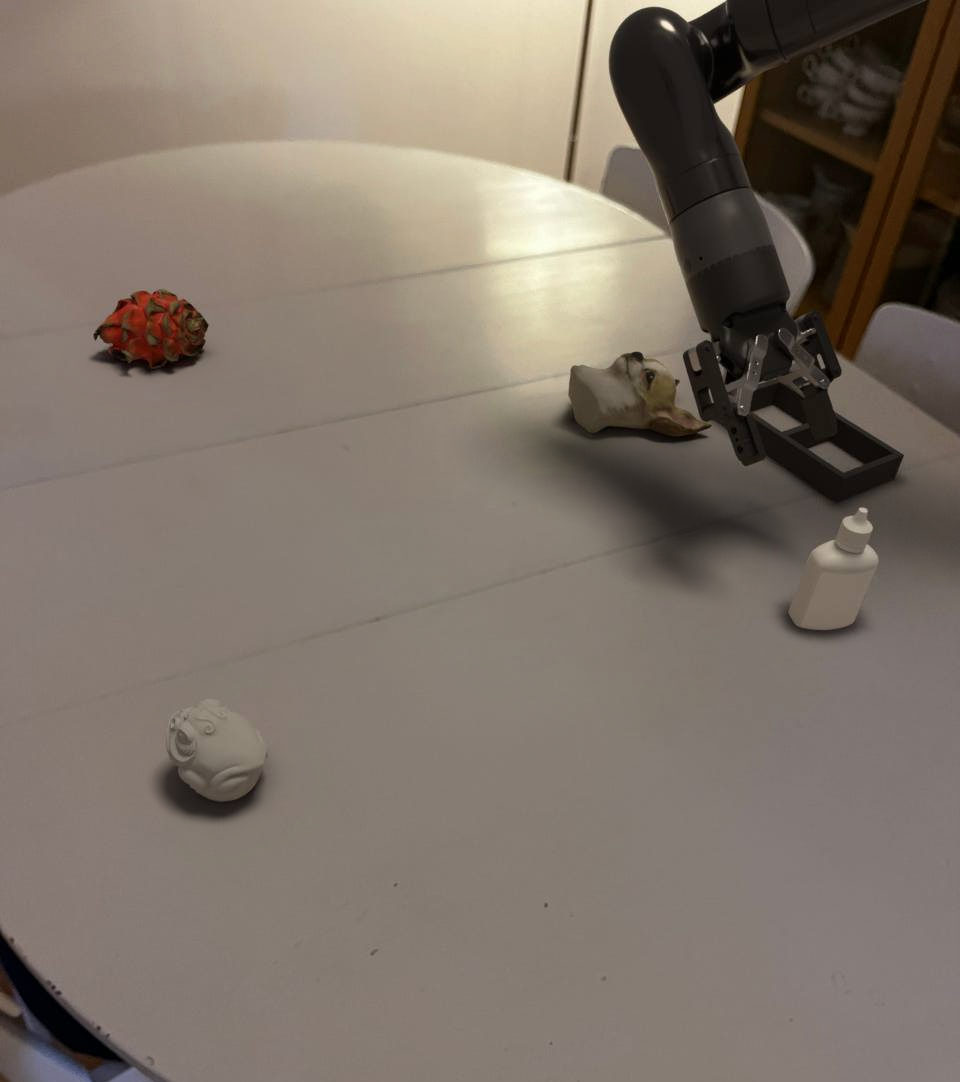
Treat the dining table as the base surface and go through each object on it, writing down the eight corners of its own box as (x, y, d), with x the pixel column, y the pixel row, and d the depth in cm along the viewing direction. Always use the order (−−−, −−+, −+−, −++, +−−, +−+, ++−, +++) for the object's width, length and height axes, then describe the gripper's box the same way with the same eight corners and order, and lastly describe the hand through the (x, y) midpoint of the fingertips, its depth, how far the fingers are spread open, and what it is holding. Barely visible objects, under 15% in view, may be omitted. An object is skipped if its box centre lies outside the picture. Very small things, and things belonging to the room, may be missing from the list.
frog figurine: (205, 740, 76) (195, 671, 72) (290, 773, 75) (285, 705, 70) (155, 799, 72) (140, 731, 67) (244, 836, 70) (235, 768, 66)
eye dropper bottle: (850, 647, 89) (899, 534, 81) (783, 630, 90) (825, 516, 82) (852, 615, 92) (899, 503, 84) (788, 599, 93) (829, 487, 85)
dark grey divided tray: (771, 405, 119) (779, 377, 116) (892, 484, 109) (904, 454, 106) (712, 425, 115) (720, 395, 112) (832, 509, 104) (844, 478, 102)
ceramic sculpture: (559, 326, 109) (691, 329, 113) (544, 400, 115) (670, 400, 119) (591, 379, 102) (730, 379, 106) (573, 455, 108) (706, 453, 112)
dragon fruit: (222, 376, 117) (113, 394, 116) (210, 306, 118) (101, 323, 117) (208, 341, 109) (90, 360, 107) (194, 266, 110) (78, 284, 109)
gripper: (693, 257, 80) (762, 461, 81) (821, 228, 86) (883, 416, 87) (635, 296, 86) (700, 483, 87) (758, 266, 93) (817, 441, 94)
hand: (791, 450), depth 87 cm, fingers open, 8 cm apart
